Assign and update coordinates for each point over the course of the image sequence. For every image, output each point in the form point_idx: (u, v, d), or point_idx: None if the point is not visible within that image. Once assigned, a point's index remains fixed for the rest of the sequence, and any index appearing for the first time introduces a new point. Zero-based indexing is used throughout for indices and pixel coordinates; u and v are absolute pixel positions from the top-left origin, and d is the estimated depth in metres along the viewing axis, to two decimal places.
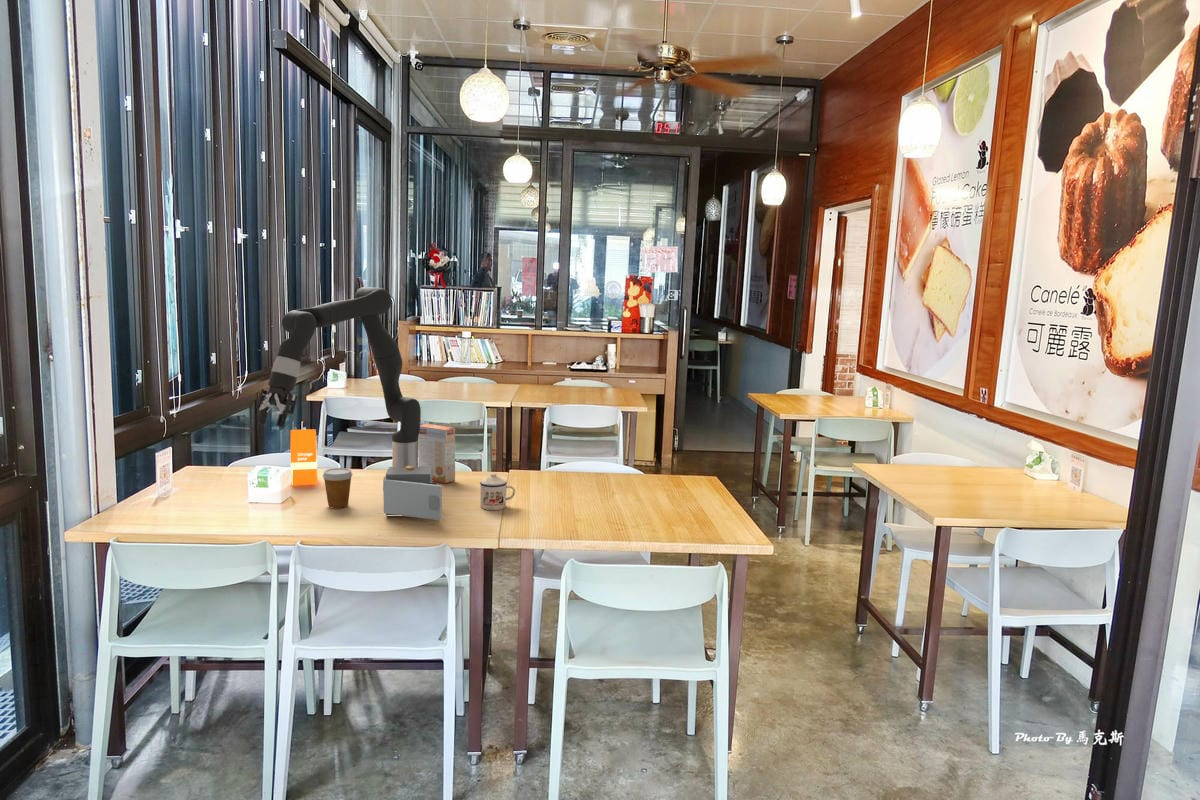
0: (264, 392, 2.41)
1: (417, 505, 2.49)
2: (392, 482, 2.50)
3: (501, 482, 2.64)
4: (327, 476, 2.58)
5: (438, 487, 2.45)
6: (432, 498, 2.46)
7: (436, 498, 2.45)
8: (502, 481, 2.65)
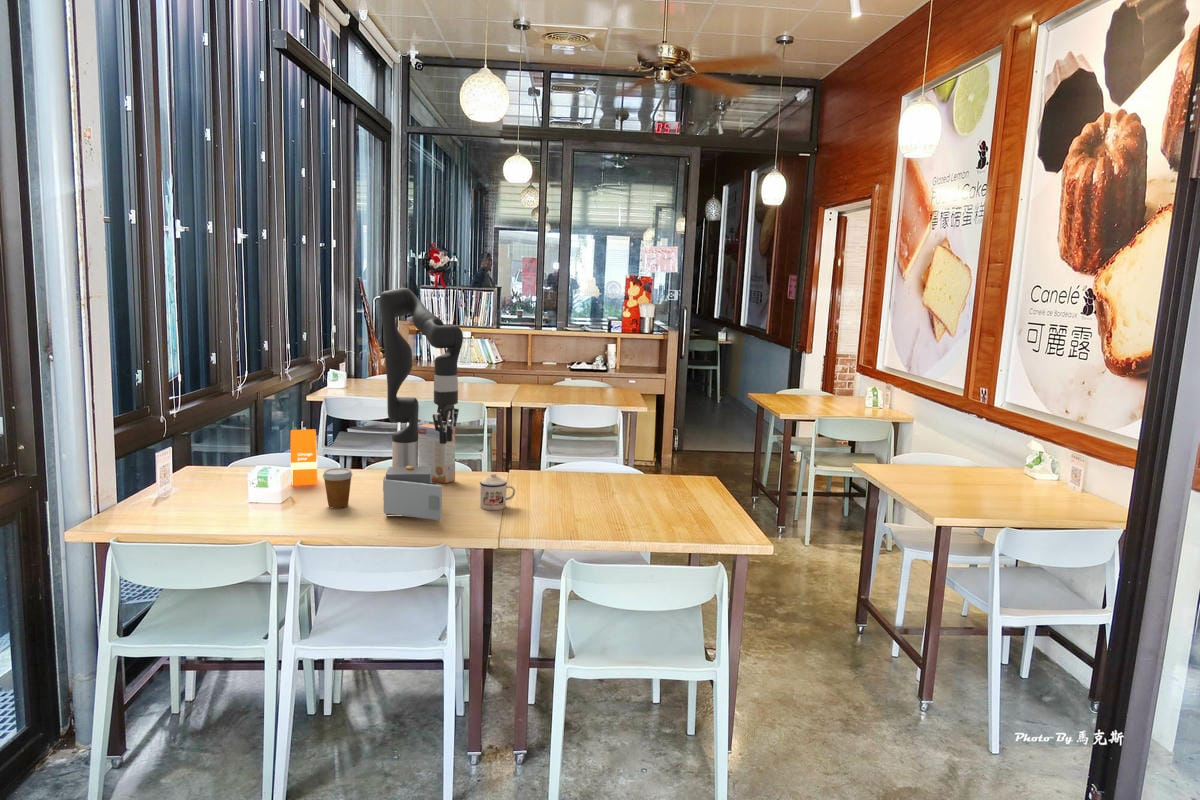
0: None
1: (417, 505, 2.49)
2: (392, 482, 2.50)
3: (501, 482, 2.64)
4: (327, 476, 2.58)
5: (438, 487, 2.45)
6: (432, 498, 2.46)
7: (436, 498, 2.45)
8: (502, 481, 2.65)
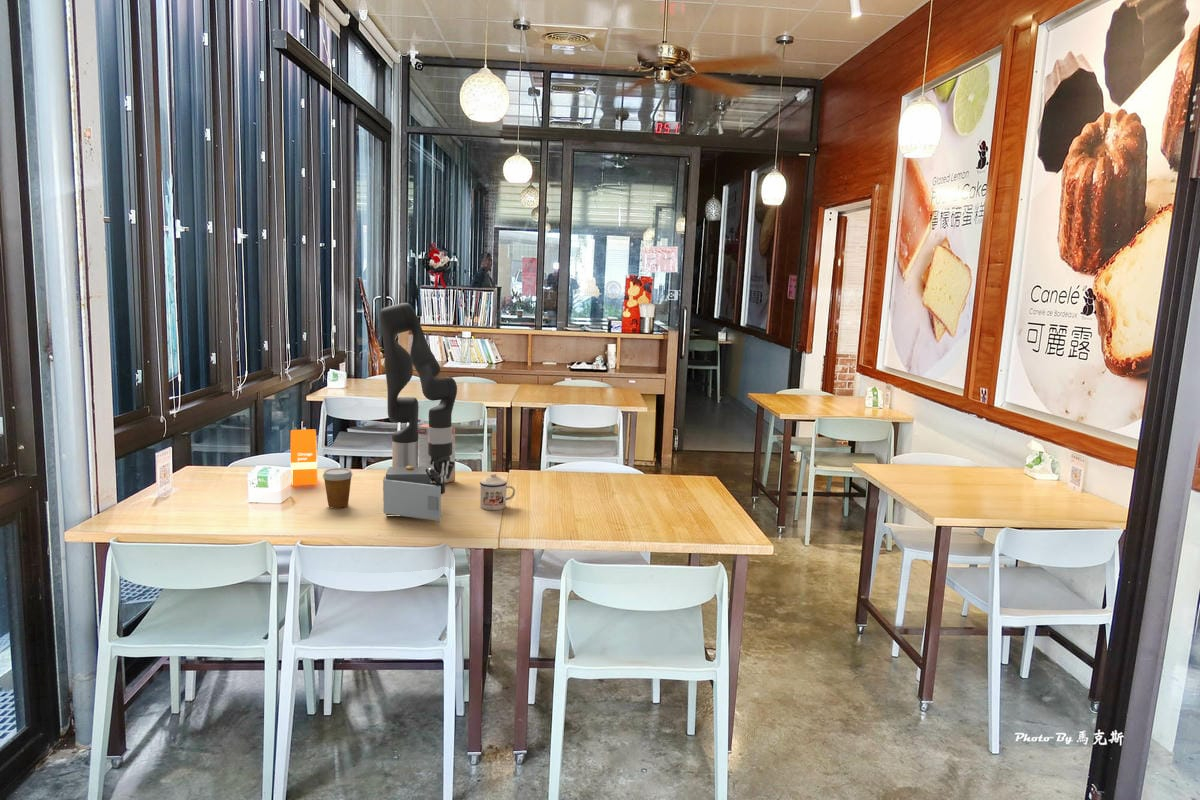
0: None
1: (416, 506, 2.48)
2: (392, 482, 2.50)
3: (501, 482, 2.64)
4: (327, 476, 2.58)
5: (437, 487, 2.45)
6: (431, 498, 2.45)
7: (435, 498, 2.45)
8: (502, 481, 2.65)
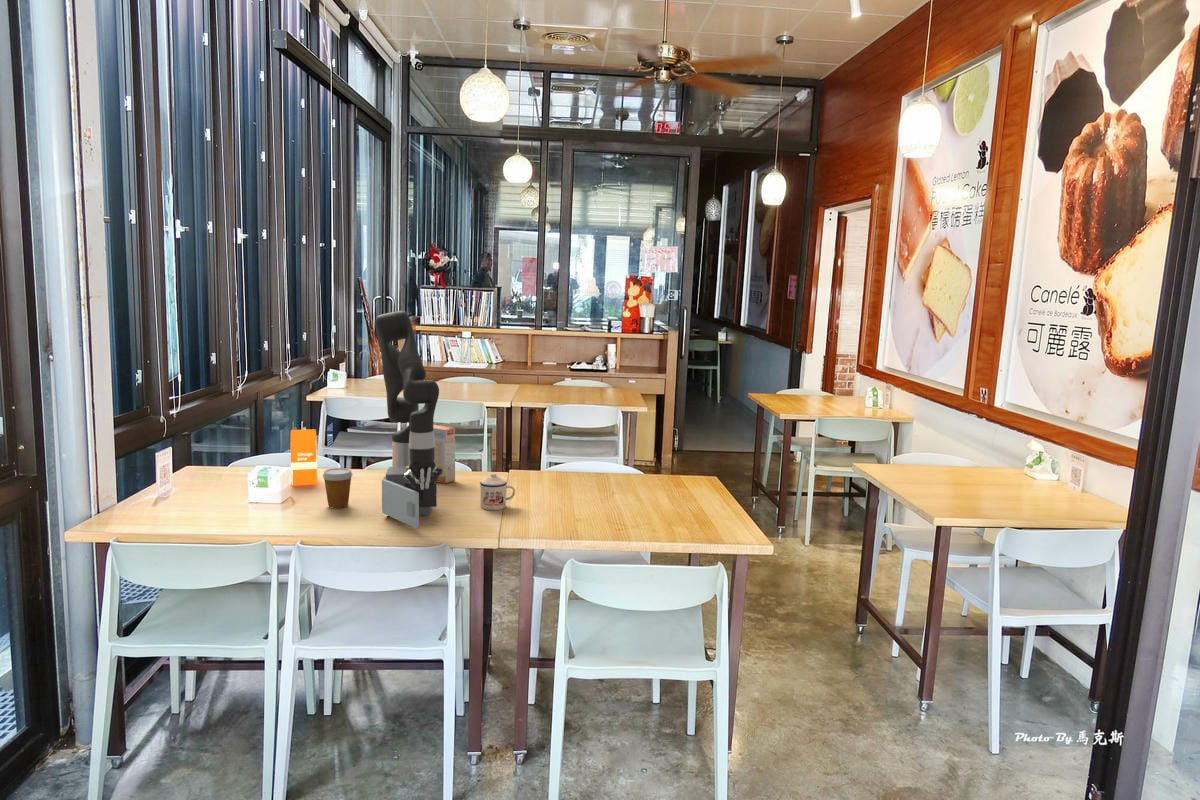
0: (409, 475, 2.36)
1: (401, 510, 2.44)
2: (387, 483, 2.49)
3: (501, 482, 2.64)
4: (327, 476, 2.58)
5: (414, 494, 2.37)
6: (409, 504, 2.39)
7: (411, 505, 2.38)
8: (502, 481, 2.65)
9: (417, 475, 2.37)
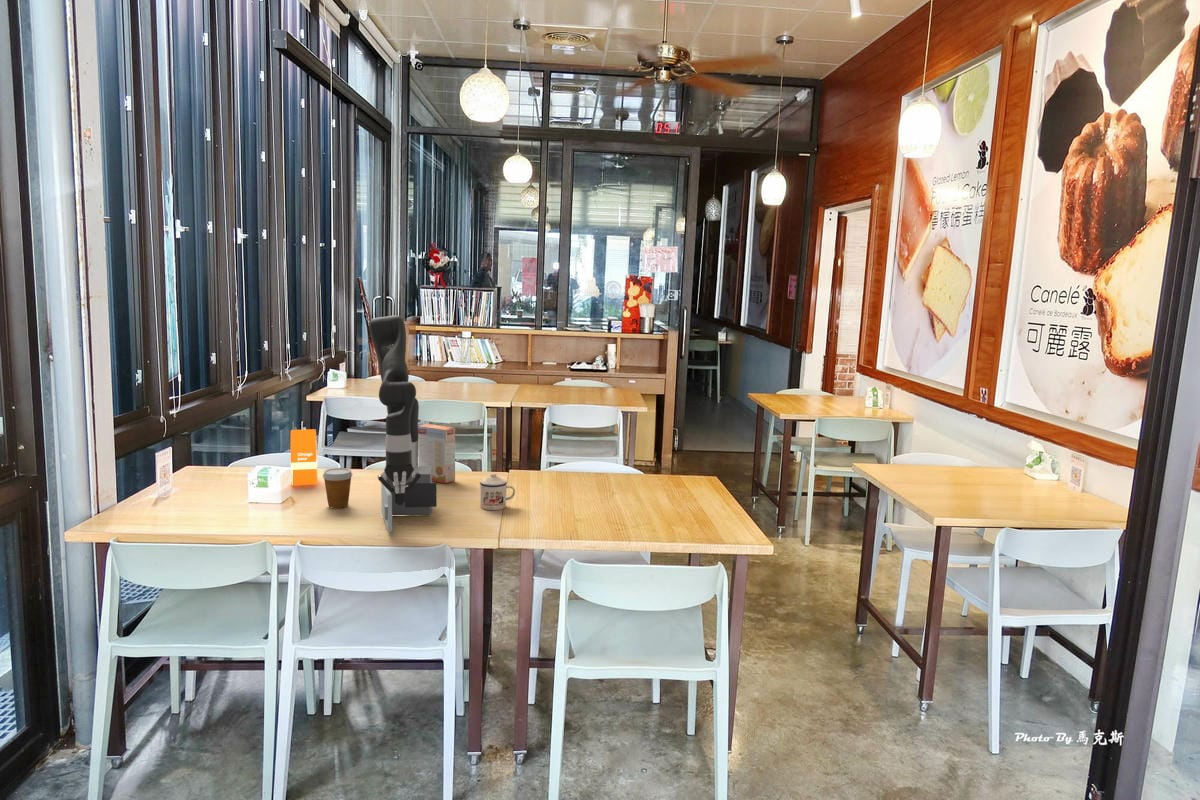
0: (382, 477, 2.32)
1: None
2: None
3: (501, 482, 2.64)
4: (327, 476, 2.58)
5: (387, 496, 2.34)
6: (384, 506, 2.35)
7: (384, 507, 2.34)
8: (502, 481, 2.65)
9: (391, 478, 2.33)
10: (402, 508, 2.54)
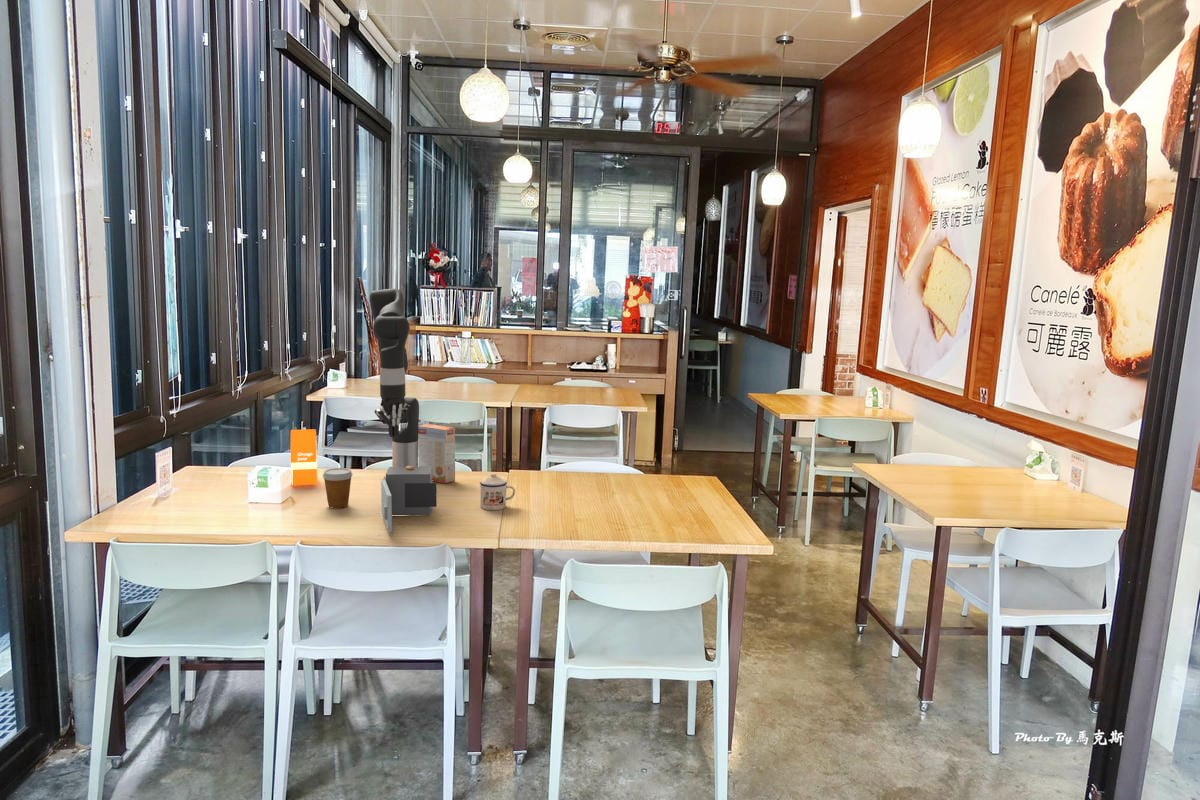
0: None
1: None
2: (382, 483, 2.49)
3: (501, 482, 2.64)
4: (327, 476, 2.58)
5: (387, 496, 2.34)
6: (384, 506, 2.35)
7: (384, 507, 2.34)
8: (502, 481, 2.65)
9: (389, 411, 2.39)
10: (402, 508, 2.54)
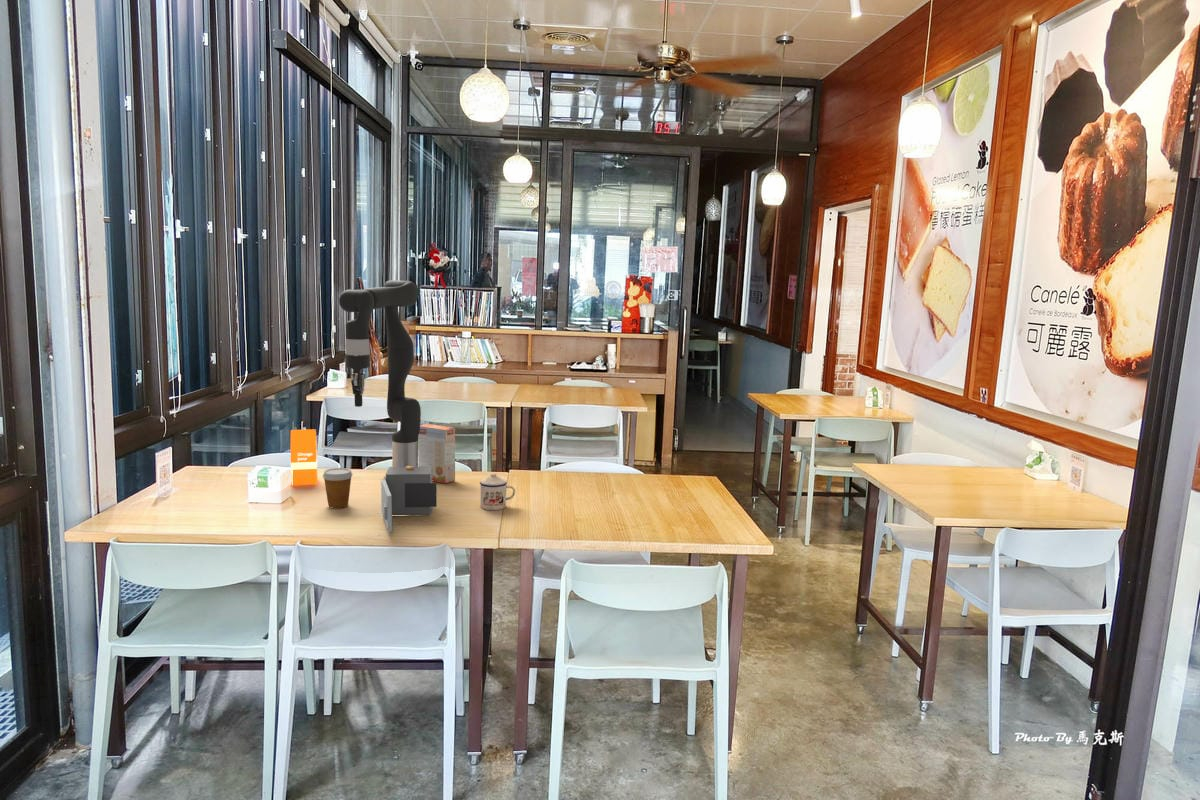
0: None
1: None
2: (382, 483, 2.49)
3: (501, 482, 2.64)
4: (327, 476, 2.58)
5: (387, 496, 2.34)
6: (384, 506, 2.35)
7: (384, 507, 2.34)
8: (502, 481, 2.65)
9: (360, 381, 2.50)
10: (402, 508, 2.54)
